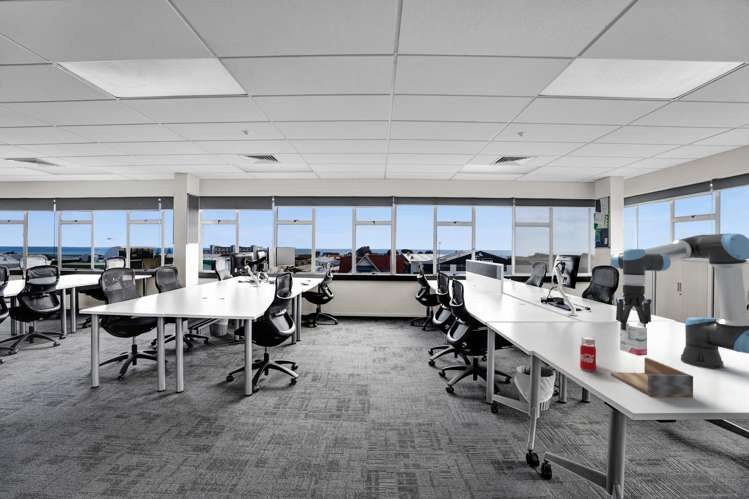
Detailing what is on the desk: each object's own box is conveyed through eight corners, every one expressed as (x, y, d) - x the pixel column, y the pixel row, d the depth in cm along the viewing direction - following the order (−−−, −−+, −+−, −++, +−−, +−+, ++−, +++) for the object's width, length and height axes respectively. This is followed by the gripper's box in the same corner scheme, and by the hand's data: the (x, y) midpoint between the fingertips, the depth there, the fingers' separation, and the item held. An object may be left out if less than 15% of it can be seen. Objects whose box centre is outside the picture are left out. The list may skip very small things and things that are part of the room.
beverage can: (577, 367, 157) (577, 342, 157) (589, 367, 157) (589, 342, 157) (586, 372, 151) (586, 346, 151) (599, 372, 151) (599, 346, 151)
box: (595, 366, 159) (595, 339, 159) (585, 365, 160) (585, 339, 160) (590, 362, 164) (590, 337, 164) (581, 362, 165) (581, 336, 165)
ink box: (647, 355, 138) (648, 327, 138) (638, 356, 137) (638, 327, 137) (628, 349, 146) (628, 323, 146) (619, 349, 145) (619, 323, 145)
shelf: (647, 375, 147) (647, 357, 147) (693, 397, 125) (693, 376, 125) (610, 375, 148) (610, 356, 148) (650, 396, 126) (650, 375, 126)
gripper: (648, 284, 145) (648, 336, 145) (605, 283, 146) (605, 335, 146) (663, 285, 138) (662, 340, 138) (617, 285, 138) (617, 339, 138)
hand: (633, 337), depth 142 cm, fingers closed on ink box, 6 cm apart
